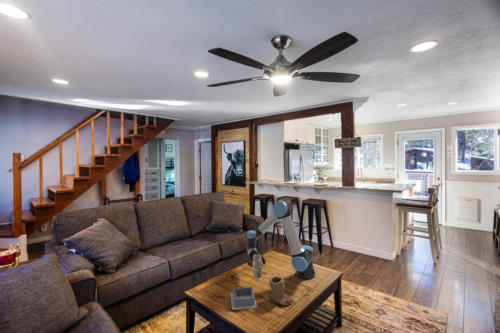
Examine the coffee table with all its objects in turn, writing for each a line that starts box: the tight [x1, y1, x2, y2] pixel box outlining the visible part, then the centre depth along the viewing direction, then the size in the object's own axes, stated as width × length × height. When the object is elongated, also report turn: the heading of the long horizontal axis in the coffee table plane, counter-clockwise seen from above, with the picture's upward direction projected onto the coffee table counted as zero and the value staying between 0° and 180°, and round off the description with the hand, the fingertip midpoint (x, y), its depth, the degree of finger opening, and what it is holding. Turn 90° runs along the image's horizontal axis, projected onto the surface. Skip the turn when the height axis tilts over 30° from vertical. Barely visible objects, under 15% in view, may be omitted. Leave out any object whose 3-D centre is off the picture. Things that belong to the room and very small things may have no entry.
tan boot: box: [268, 275, 295, 306], centre depth 159 cm, size 15×12×15 cm
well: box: [230, 286, 258, 311], centre depth 159 cm, size 16×16×6 cm
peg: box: [252, 253, 263, 279], centre depth 174 cm, size 6×6×15 cm
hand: (258, 267), depth 169 cm, fingers closed on peg, 6 cm apart
